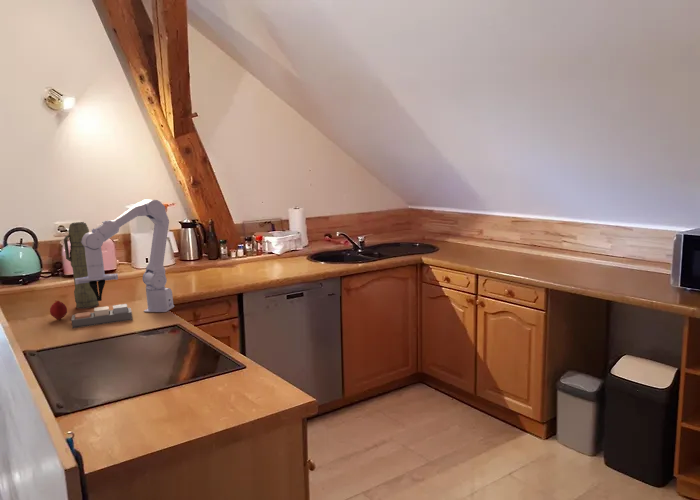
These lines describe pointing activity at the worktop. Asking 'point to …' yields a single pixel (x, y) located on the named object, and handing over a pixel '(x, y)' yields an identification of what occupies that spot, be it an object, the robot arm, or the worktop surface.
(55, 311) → the onion
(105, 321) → the key panel
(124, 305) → the light gray key
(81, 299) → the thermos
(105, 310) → the cream key
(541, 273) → the worktop surface
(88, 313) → the terracotta key
